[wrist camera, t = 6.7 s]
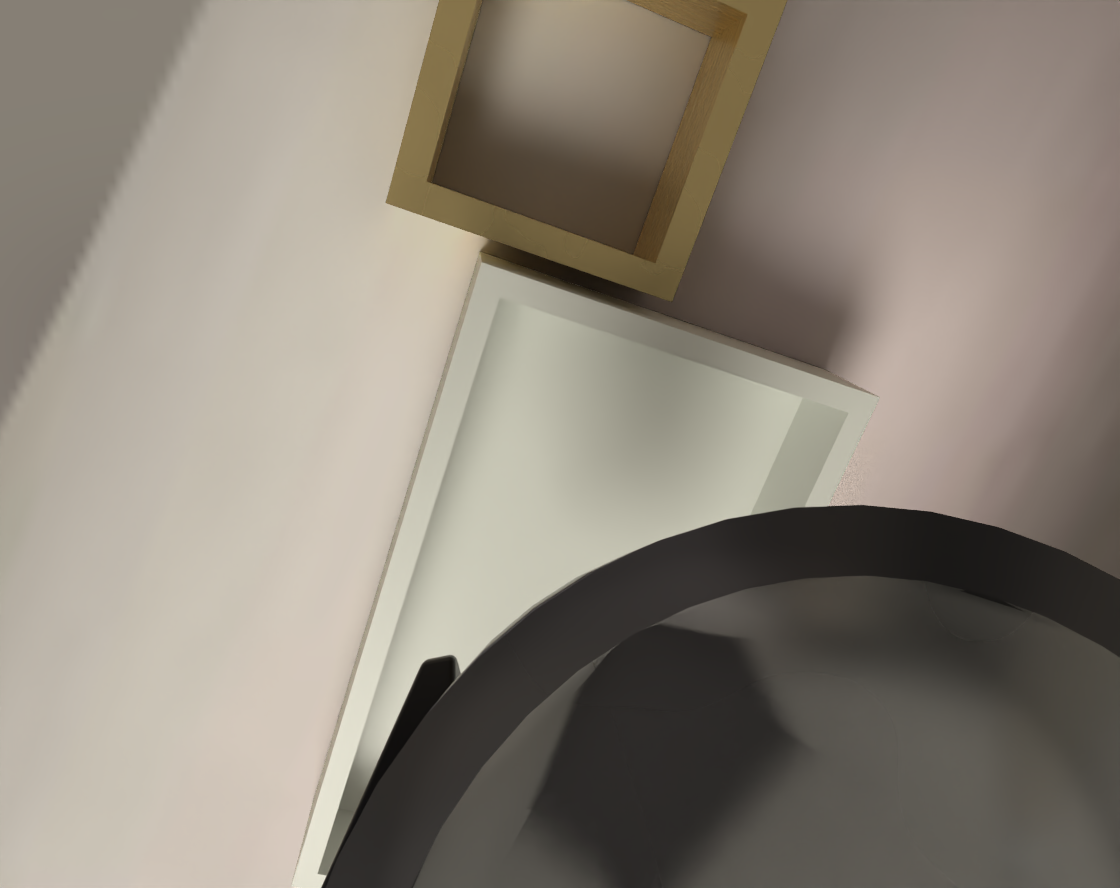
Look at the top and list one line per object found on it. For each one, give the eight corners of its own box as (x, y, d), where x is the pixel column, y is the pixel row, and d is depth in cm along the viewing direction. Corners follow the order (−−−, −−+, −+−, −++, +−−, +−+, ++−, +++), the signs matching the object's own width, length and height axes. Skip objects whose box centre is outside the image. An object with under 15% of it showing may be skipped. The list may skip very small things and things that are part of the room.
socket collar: (748, 17, 18) (790, -9, 16) (647, 288, 20) (671, 302, 17) (477, -103, 17) (479, -152, 14) (396, 201, 18) (385, 202, 16)
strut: (711, 611, 17) (1513, 681, 3) (660, 823, 16) (1486, 2207, 2) (518, 553, 17) (489, 375, 3) (454, 760, 16) (41, 1736, 2)
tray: (825, 369, 21) (880, 397, 18) (606, 854, 26) (622, 935, 23) (480, 251, 19) (481, 262, 16) (311, 804, 24) (291, 886, 21)
